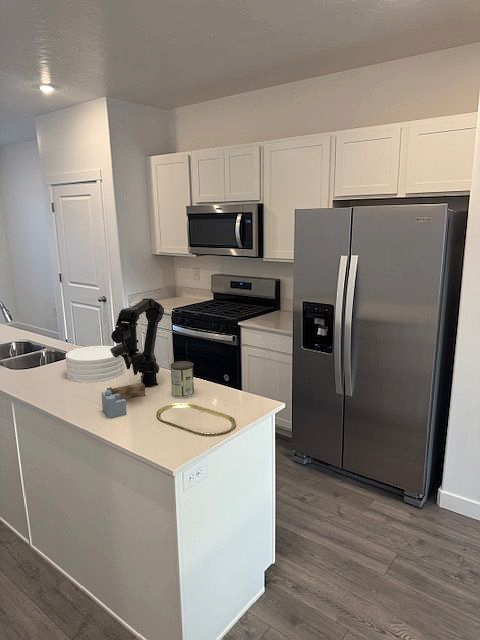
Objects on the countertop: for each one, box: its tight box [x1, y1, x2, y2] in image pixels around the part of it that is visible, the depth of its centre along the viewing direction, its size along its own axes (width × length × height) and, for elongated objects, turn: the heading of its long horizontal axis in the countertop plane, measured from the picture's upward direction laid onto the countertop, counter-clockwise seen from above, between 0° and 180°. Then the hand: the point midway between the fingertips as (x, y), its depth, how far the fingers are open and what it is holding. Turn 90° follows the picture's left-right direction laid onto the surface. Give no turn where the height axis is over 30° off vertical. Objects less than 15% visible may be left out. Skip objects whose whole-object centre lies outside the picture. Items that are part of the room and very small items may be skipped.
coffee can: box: [169, 360, 195, 399], centre depth 199 cm, size 10×10×14 cm
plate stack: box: [65, 345, 125, 384], centre depth 228 cm, size 28×28×12 cm
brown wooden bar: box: [106, 382, 146, 401], centre depth 195 cm, size 16×4×6 cm, turn 123°
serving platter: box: [156, 402, 237, 436], centre depth 173 cm, size 19×35×2 cm, turn 54°
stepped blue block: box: [100, 389, 127, 419], centre depth 179 cm, size 7×9×10 cm
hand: (131, 372), depth 195 cm, fingers open, 9 cm apart
